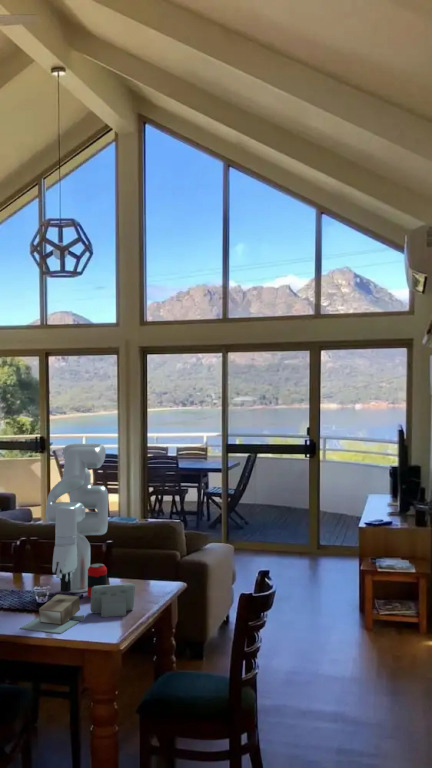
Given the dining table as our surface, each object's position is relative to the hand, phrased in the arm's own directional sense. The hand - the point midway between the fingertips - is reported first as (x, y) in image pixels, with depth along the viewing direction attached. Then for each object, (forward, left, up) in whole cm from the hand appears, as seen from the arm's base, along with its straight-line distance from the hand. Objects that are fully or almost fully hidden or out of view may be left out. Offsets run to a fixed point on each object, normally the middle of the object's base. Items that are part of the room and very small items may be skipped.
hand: (65, 591), depth 235 cm
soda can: (-27, -2, -9) cm, 29 cm away
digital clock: (-10, +14, -9) cm, 19 cm away
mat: (+10, 0, -9) cm, 14 cm away
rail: (+1, 0, -9) cm, 9 cm away
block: (-2, 0, -4) cm, 5 cm away
